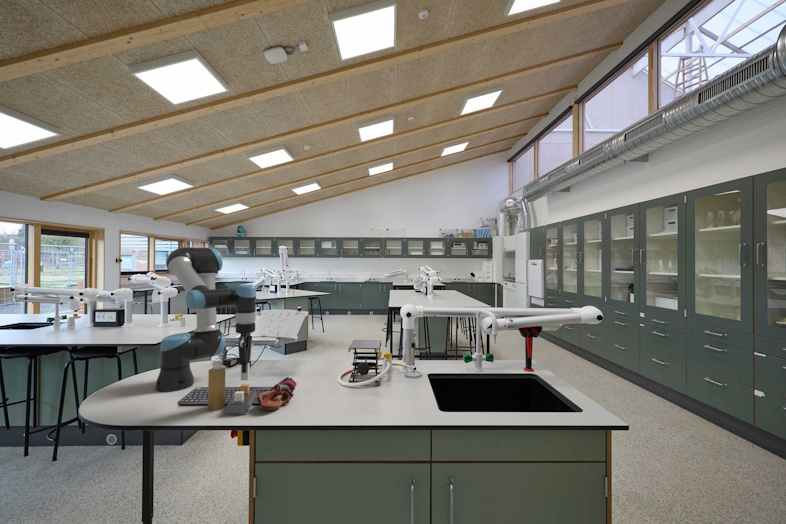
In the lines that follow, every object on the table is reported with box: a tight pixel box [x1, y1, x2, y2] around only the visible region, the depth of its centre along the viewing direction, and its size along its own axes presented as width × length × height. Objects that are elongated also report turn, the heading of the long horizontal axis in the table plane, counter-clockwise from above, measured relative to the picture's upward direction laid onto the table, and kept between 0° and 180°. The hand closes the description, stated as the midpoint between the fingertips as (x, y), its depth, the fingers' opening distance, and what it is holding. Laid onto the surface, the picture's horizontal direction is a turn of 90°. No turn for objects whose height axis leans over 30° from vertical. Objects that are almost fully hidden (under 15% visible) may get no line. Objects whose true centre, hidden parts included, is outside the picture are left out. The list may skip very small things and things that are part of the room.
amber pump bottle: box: [207, 360, 226, 412], centre depth 138 cm, size 6×6×18 cm
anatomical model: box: [257, 376, 298, 411], centre depth 141 cm, size 11×13×15 cm
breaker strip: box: [225, 387, 257, 417], centre depth 143 cm, size 22×7×4 cm, turn 9°
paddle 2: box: [239, 383, 250, 394], centre depth 144 cm, size 2×3×3 cm, turn 99°
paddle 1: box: [233, 390, 244, 402], centre depth 136 cm, size 2×3×3 cm, turn 99°
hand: (244, 379), depth 143 cm, fingers closed
